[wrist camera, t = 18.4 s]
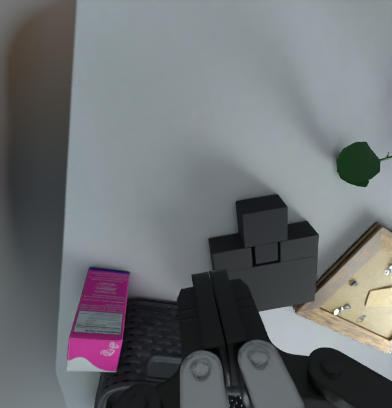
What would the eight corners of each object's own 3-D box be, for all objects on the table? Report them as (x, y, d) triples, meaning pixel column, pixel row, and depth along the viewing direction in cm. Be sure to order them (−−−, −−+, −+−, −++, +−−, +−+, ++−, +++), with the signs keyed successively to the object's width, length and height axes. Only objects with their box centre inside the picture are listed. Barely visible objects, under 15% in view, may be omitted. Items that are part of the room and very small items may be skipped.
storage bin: (191, 410, 60) (198, 498, 48) (93, 404, 56) (75, 499, 44) (239, 309, 48) (263, 395, 36) (118, 293, 44) (101, 383, 32)
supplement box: (126, 300, 45) (116, 374, 35) (85, 296, 44) (62, 372, 33) (131, 271, 42) (122, 342, 32) (88, 266, 41) (65, 337, 31)
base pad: (217, 300, 47) (221, 318, 44) (208, 238, 41) (212, 253, 38) (304, 284, 47) (314, 301, 44) (307, 220, 41) (319, 234, 38)
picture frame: (466, 280, 50) (375, 221, 42) (475, 287, 49) (384, 228, 41) (383, 346, 57) (291, 306, 49) (389, 355, 55) (296, 314, 47)
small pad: (240, 250, 42) (246, 265, 39) (235, 201, 39) (242, 214, 36) (278, 243, 43) (287, 258, 39) (277, 194, 39) (287, 206, 36)
